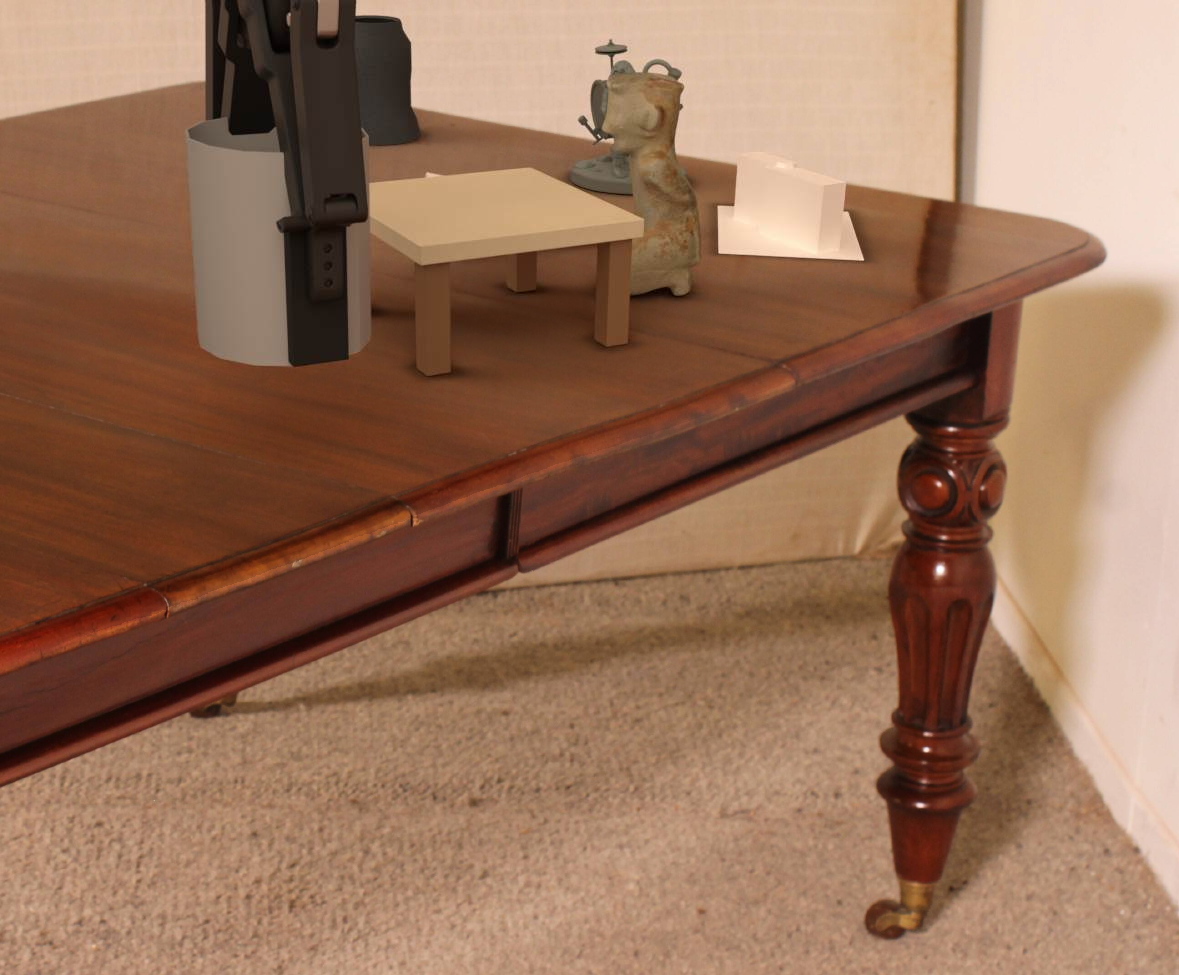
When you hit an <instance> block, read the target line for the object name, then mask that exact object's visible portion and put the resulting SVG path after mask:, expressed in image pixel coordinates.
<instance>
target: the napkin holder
mask: <svg viewBox="0 0 1179 975" xmlns="http://www.w3.org/2000/svg"><path fill="white" fill-rule="evenodd" d="M736 165H737V166H736V177H735V178H736V179H735V193H734V205H717V229H718V230H717V245H718V246H717V248H718V254H719V255H741V256H743V255H744V256H761V257H779V258H780V257H782V258H801V259H802V258H803V259H822V260H841V261H842V260H843V261H862V262H863V261H865V258H864V255H863V252H862V249H861V247H860V243H859V240H858V237H857V235H856V231H855V228H854V226H853V225H854V224H853V222H852V220H851V216H850V213H849V211H844V209H845V201H846V200H845V199H846V189H847V181H844V180H841V179H837V178H835V177H831V176H827V175H824V174H822V173H818V172H814V171H811V170H808V169H804V168H801V167H798V162H797V161H794V160H790V159H787V158H784V157H780V156H778V155H773V154H771V153H767V152H764V151H761V150H760V151H759V150H758V151H752V152H745V153H744V152H743V153H738V154H737V164H736Z"/></svg>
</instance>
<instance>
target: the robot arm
mask: <svg viewBox="0 0 1179 975" xmlns="http://www.w3.org/2000/svg"><path fill="white" fill-rule="evenodd" d="M204 9H205V10H204V11H205V12H204V14H205V16H204V24H205V26H204V27H205V29H204V31H205V32H204V33H205V37H204V38H205V39H204V40H205V43H204V44H205V46H204V51H205V53H204V55H205V56H204V58H205V59H204V63H205V64H204V65H205V67H204V69H205V70H204V71H205V81H204V82H205V84H204V85H205V88H204V89H205V99H204V100H205V101H204V102H205V121H208V120H214V119H220V118H225V117H227V118H228V131H229V133H230V134H231V135H249V134H265V133H269V132H271V131H272V130H273V129H274V128H275V127H276V130H277V136H278V141H279V147H280V152H282V153H284V176H285V182H286V188H287V193H288V199H289V205H290V211H291V216H288V217H283V218H281V219H280V220H278V221H276V224H277V228H278V230H279V232H280V233H284V255H285V282H286V309H287V335H288V362H289V363H290V364H291V365H292V366H291V367H293V368H297V367H298V368H299V367H305V366H310V365H311V366H312V365H321V364H327V363H333V362H341V361H347V360H350V355H349V340H348V288H347V237H346V227H350V226H351V224H354V223H364V222H366V220H367V218H368V205H367V192H366V180H365V168H364V156H363V144H362V132H361V120H360V108H359V96H358V83H357V71H356V59H355V47H354V41H355V18H356V16H357V15H356V14H357V0H204ZM328 195H330V197H328V198H326V197H327V196H328Z"/></svg>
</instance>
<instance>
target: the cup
mask: <svg viewBox="0 0 1179 975" xmlns="http://www.w3.org/2000/svg"><path fill="white" fill-rule="evenodd" d="M361 132H362V144H363V156H364V168H365V180H366V192H367V205H368V218H367V220H366V222H364V223H354V224H351V226H350V227H346V237H347V288H348V340H349V356H352V355H355V354H356V353H359V352H361V351H362V350H363V349H364V348H365V347H366V345H367V344H368V343H369V342H370V341H371V339H372V284H371V285H370V281H371V233H370V193H369V183H370V145H369V136H368V134H367V133H366V132H365V131H364V129H363V128H361ZM184 140H185V156H186V171H187V188H188V201H189V202H188V204H189V205H188V206H189V219H190V220H189V221H190V232H191V233H190V234H191V236H190V237H191V249H192V251H191V253H192V266H193V267H192V268H193V282H194V283H193V284H194V299H195V316H196V331H197V332H196V333H197V338H198V344H199V348H200V349H202V350H204V351H206V352H208V353H209V354H211V355H213V356H215V357H216V358H218V359H221V360H225V361H230V362H234V363H241V364H244V365H245V364H246V365H249V366H250V365H251V366H256V367H257V366H258V367H260V366H262V367H293V366H292V365H291V364H290V363H289V362H288V335H287V309H286V282H285V255H284V233H280V232H279V230H278V228H277V224H276V221H278V220H280V219H281V218H283V217H288V216H291V211H290V205H289V199H288V193H287V188H286V182H285V176H284V153H282V152H280V147H279V141H278V136H277V130H276V127H275V128H274V129H273V130H272V131H271V132H269V133H265V134H249V135H231V134H230V133H229V131H228V118H227V117H225V118H220V119H214V120H208V121H206V120H204V121H198V122H197V123H195V124H193V125H191V126H189V127H187V128H185V129H184ZM328 197H330V195H328V196H327V197H326V198H328Z"/></svg>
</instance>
